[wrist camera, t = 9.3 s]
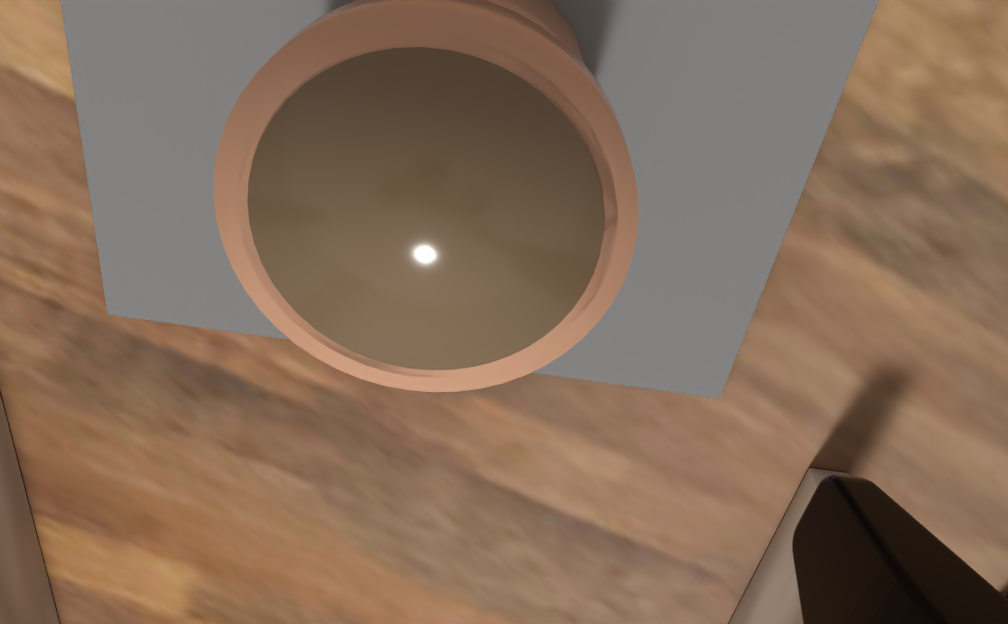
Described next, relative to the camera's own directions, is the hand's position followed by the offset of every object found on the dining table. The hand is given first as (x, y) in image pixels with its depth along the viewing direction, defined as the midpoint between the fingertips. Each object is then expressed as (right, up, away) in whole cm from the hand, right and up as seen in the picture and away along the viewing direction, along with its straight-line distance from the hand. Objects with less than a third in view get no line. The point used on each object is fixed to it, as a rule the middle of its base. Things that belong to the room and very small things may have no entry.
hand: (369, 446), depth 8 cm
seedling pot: (0, +6, +9) cm, 11 cm away
